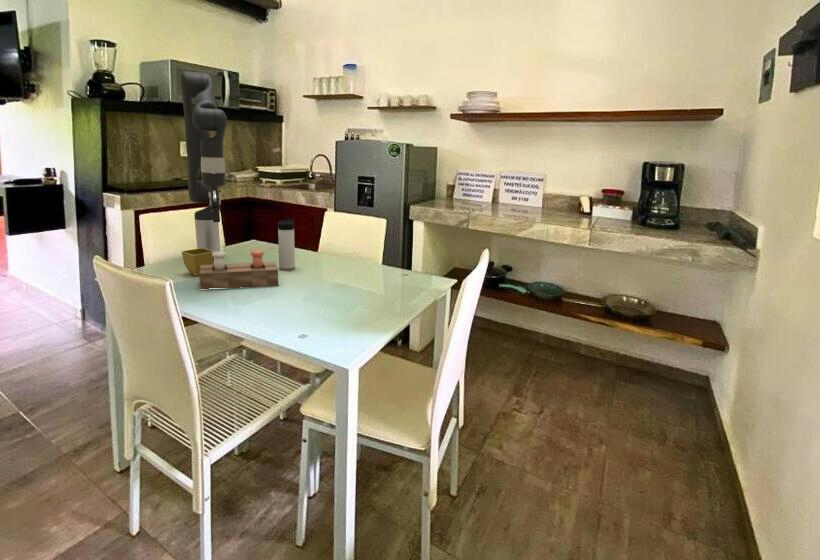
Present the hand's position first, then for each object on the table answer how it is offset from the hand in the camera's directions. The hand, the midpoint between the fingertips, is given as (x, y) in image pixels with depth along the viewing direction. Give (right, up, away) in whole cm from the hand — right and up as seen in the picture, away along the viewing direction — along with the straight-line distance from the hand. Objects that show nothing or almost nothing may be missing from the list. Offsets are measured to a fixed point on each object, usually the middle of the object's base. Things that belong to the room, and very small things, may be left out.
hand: (216, 221), depth 167 cm
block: (+5, -21, +9) cm, 24 cm away
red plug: (+11, -17, +10) cm, 22 cm away
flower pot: (-14, -18, +18) cm, 29 cm away
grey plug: (-1, -17, +5) cm, 18 cm away
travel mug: (+17, -16, +31) cm, 38 cm away
